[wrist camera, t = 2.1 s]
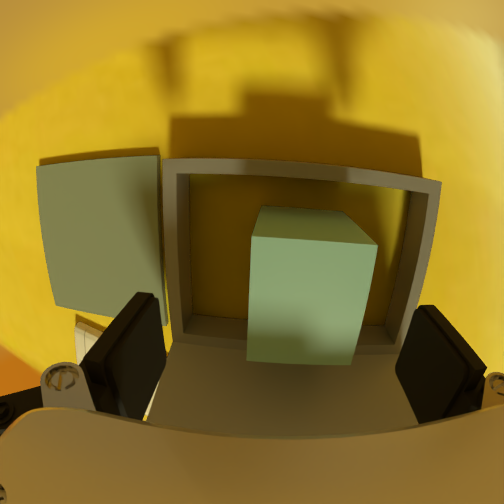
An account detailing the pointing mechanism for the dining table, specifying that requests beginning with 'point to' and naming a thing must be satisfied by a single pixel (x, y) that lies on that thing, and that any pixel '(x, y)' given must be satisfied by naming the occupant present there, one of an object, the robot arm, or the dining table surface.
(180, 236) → the case
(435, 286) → the dining table surface
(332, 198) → the dining table surface
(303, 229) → the block
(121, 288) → the mat
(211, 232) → the dining table surface
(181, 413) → the lid
